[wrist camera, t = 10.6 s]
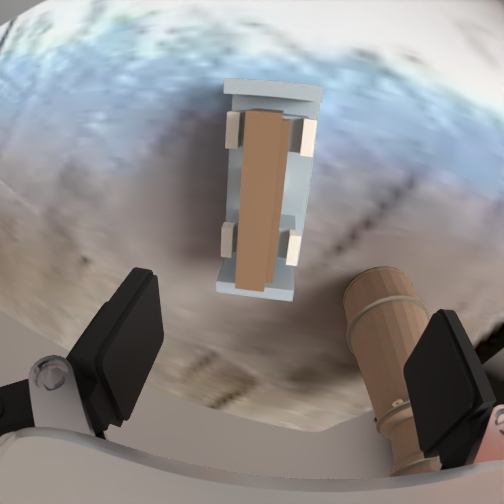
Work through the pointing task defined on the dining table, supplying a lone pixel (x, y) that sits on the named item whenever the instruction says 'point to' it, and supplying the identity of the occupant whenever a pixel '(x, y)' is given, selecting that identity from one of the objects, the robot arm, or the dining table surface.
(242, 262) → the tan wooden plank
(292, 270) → the display cradle
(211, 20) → the dining table surface
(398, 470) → the binoculars
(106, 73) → the dining table surface
